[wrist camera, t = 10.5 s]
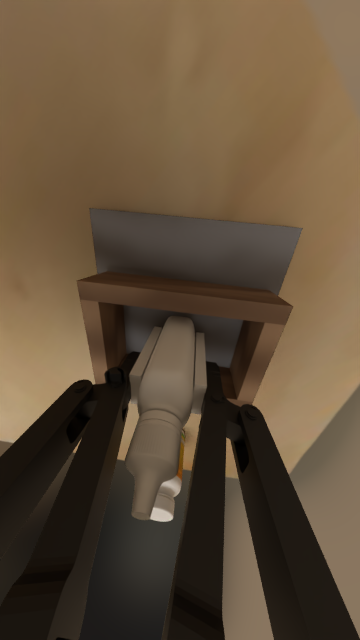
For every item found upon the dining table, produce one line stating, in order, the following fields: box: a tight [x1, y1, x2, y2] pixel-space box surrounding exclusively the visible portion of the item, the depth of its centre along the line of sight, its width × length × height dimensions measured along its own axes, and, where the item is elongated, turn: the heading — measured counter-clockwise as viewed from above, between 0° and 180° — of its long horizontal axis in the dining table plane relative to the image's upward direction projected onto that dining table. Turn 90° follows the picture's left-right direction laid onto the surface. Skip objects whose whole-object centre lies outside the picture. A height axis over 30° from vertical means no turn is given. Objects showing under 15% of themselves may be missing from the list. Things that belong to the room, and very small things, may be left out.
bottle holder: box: [77, 208, 302, 407], centre depth 17 cm, size 22×18×6 cm
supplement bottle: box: [150, 430, 185, 522], centre depth 24 cm, size 5×5×10 cm
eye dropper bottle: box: [125, 316, 195, 520], centre depth 11 cm, size 4×6×12 cm
